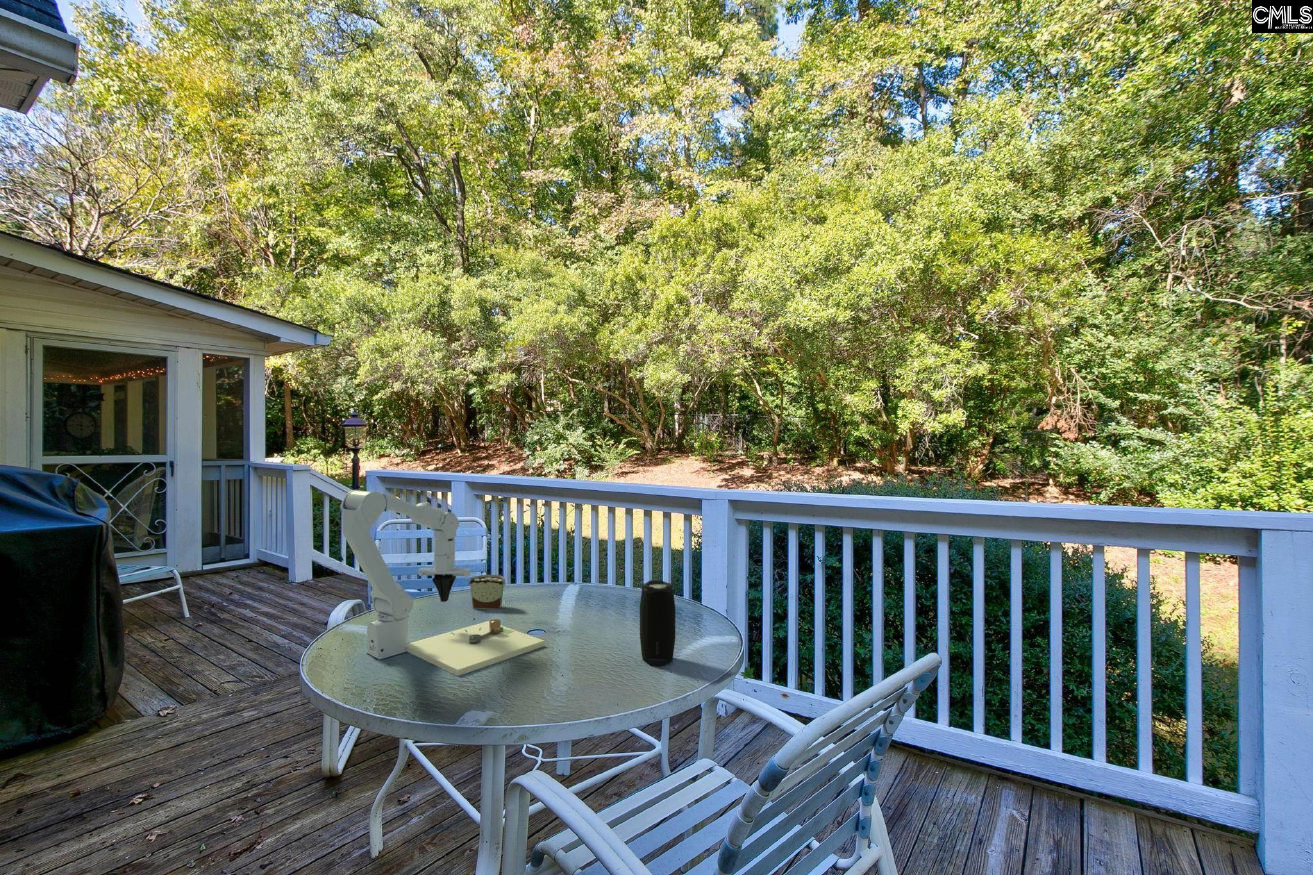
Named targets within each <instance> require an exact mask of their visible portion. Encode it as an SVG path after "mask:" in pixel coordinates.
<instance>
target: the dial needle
mask: <svg viewBox="0 0 1313 875" xmlns="http://www.w3.org/2000/svg"><path fill="white" fill-rule="evenodd" d="M488 621H489V632H488V633H486V634H484V635H482V636H481V635H479V634H475V635H471V636H469V643H479V642H481V639H483V638H485V637H488V636H490V635H492V634H498V633H500V632H501V630H503V627H501V626H502V624H501V619H498V618H497V619H496V618H495V619H491V620H488Z"/></svg>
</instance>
